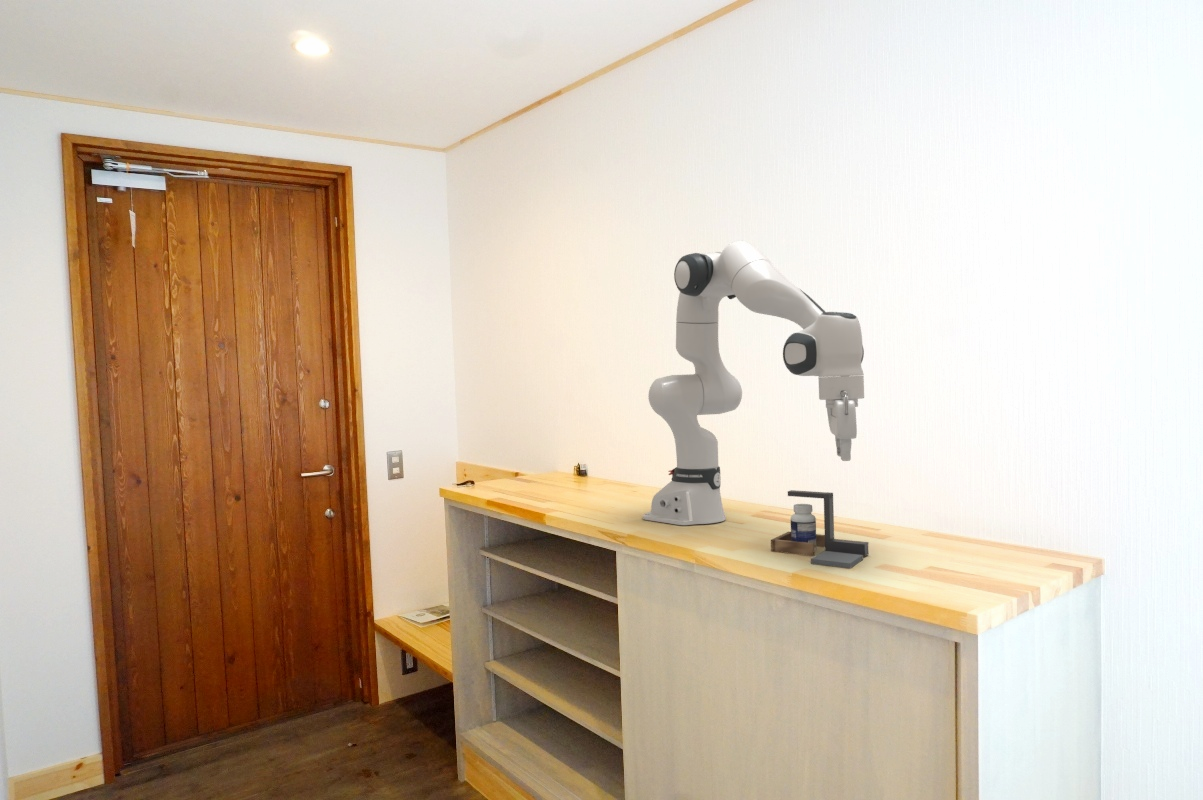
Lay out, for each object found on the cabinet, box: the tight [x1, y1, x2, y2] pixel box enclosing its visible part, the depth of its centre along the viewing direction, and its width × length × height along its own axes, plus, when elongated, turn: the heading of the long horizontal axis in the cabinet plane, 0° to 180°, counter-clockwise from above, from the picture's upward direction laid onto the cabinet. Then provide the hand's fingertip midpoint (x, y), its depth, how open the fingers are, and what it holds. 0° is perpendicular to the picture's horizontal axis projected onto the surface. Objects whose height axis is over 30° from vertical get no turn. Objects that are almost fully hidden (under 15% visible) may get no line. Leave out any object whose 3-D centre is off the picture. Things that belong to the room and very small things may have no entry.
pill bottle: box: [790, 503, 817, 551], centre depth 171 cm, size 5×5×10 cm
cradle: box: [770, 531, 825, 557], centre depth 172 cm, size 10×10×2 cm
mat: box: [810, 550, 864, 569], centre depth 159 cm, size 8×8×1 cm
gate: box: [787, 489, 869, 557], centre depth 168 cm, size 17×2×12 cm, turn 54°
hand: (843, 458), depth 159 cm, fingers open, 8 cm apart
